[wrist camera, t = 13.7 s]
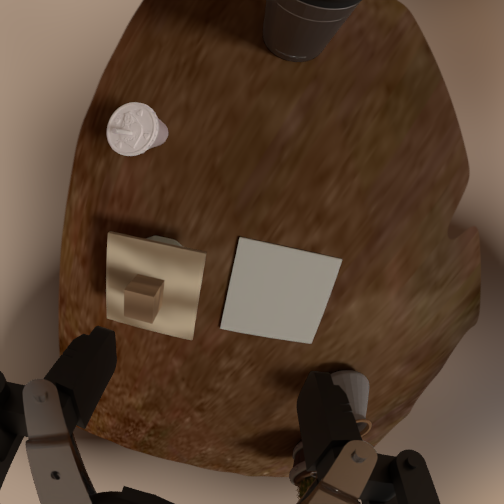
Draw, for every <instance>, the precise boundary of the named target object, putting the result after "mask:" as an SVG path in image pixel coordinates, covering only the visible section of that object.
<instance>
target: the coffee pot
mask: <svg viewBox="0 0 504 504" xmlns="http://www.w3.org/2000/svg"><path fill="white" fill-rule="evenodd" d="M330 375H331V378H332V381H333V384H334V385H339V386H340V387H341V388H342V389H343V391H344V392H345V393H346V394H347V397H348V400H349V403H350V404H349V405H350V406H351V409H352V413H353V414H354V417H355V420H356V423H357V426H358V429H359V432H360V435H361V437H362V436H363V435H365V434H366V433H367V432H368V431H369V430H370V429H371V426H372V424H371V422H370V421H369V420H367V419H366V418H365V416H366V409H367V402H368V394H369V381H368V379H367V378H366V377H365V376H364V375H363V374H361V373H360V372H357V371H352V370H342V371H337V372H334V373H332V374H330ZM311 473H317V472H311ZM311 473H310V475H311ZM311 476H313V475H311ZM313 477H316V478H317V474H316V476H313Z"/></svg>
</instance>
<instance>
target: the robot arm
mask: <svg viewBox="0 0 504 504" xmlns="http://www.w3.org/2000/svg"><path fill="white" fill-rule="evenodd" d="M360 1H361V0H267V1H266V9H265V18H264V25H263V39H264V42H265V44H266V46H267V47H268V48H269V50H270V51H271V52H272V53H274V54H275V55H276V56H278V57H280V58H282V59H285V60H288V61H293V62H303V61H308V60H311V59H313V58H315V57H317V56H318V55H319V54H320V53H321V52H322V51H323V49H324V48H325V47H326V45H327V44H328V43H329V42H330V40H331V39H332V38H333V36H334V35H335V34H336V32H337V31H338V30H339V28H340V27H341V26H342V24H343V23H344V22H345V21H346V19H347V18H348V17H349V15H350V14H351V13H352V11H353V10H354V9H355V8H356V6H357V5H358V4H359V3H360ZM116 362H117V356H116V340H115V332H114V331H113V330H109V329H106V328H103V327H100V326H96V327H95V328H94V329H93V331H92V332H91V333H90V335H89V336H88V335H86V334H82V335H81V336H79V337H77V338H75V339H74V340H73V341H72V342H71V344H70V345H69V346H68V348H67V349H66V350H65V351H64V352H63V355H61V356H60V358H59V359H58V360H57V361H56V363H55V364H54V365H53V367H52V368H51V369H50V371H49V372H48V373H47V375H46V376H45V377H44V379H35V380H32V381H30V382H28V383H27V384H26V385H20V384H15V383H11V382H7V381H6V379H5V377H4V375H3V373H1V371H0V489H1V487H2V484H3V481H4V479H5V477H6V474H7V472H8V470H9V468H10V465H11V463H12V461H13V459H14V456H15V454H16V452H17V450H18V448H19V446H20V444H21V442H22V440H23V438H24V436H26V437H28V438H29V440H27V441H26V451H27V455H28V460H29V464H30V469H31V473H32V476H33V480H34V484H35V486H36V490H37V494H38V497H39V500H40V503H41V504H174V503H172V502H169V501H167V500H165V499H163V498H161V497H158V496H156V495H154V494H150V493H146V492H142V491H139V490H135V489H132V488H129V487H125V486H124V487H123V490H122V492H112V491H110V492H101V493H96V491H95V489H94V487H93V484H92V482H91V480H90V478H89V476H88V474H87V471H86V469H85V466H84V464H83V461H82V458H81V455H80V453H79V450H78V447H77V444H76V441H75V437H74V434H73V431H74V429H75V427H76V425H77V426H79V427H82V428H84V429H85V428H86V426H87V424H88V422H89V420H90V418H91V416H92V414H93V412H94V410H95V408H96V406H97V404H98V402H99V400H100V398H101V396H102V394H103V392H104V390H105V388H106V386H107V384H108V382H109V380H110V379H111V377H112V375H113V373H114V371H115V367H116ZM349 404H350V403H349V400H348V397H347V394H346V393H345V392H344V391H343V389H342V388H341V387H340V386H339V385H334V384H333V381H332V378H331V375H330V373H328V372H317V371H311V372H310V373H309V375H308V377H307V379H306V381H305V383H304V386H303V388H302V390H301V392H300V394H299V396H298V399H297V413H298V419H299V425H300V432H301V438H302V444H303V450H304V457H305V463H306V470H307V471H317V478H316V479H315V480H314V481H313V483H312V484H311V485H310V487H309V488H308V489H307V491H306V492H305V493H304V495H303V496H302V497H301V499H300V500H299V501H298V503H297V504H360V502H359V501H358V499H361V501H362V504H440V502H439V499H438V496H437V493H436V490H435V487H434V484H433V481H432V478H431V476H430V473H429V470H428V468H427V465H426V462H425V460H424V458H423V457H422V455H420V454H419V453H418V452H416V451H414V450H404V451H402V452H400V453H399V454H398V455H397V456H396V457H394V456H388V455H382V454H378V453H377V452H376V450H375V449H374V447H373V446H372V445H370V444H369V443H367V442H365V441H363V440H362V438H361V435H360V432H359V429H358V426H357V423H356V420H355V417H354V414H353V413H352V409H351V406H350V405H349Z"/></svg>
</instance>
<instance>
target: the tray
mask: <svg viewBox="0 0 504 504" xmlns="http://www.w3.org/2000/svg"><path fill="white" fill-rule="evenodd" d="M341 262H342V259H340V258H336V257H331V256H327V255H322V254H318V253H313V252H309V251H304V250H299V249H295V248H290V247H286V246H281V245H276V244H272V243H267V242H263V241H258V240H253V239H249V238H244V237H240V238H239V242H238V247H237V252H236V256H235V261H234V265H233V270H232V275H231V279H230V284H229V289H228V293H227V298H226V303H225V307H224V312H223V317H222V322H221V327H220V329H225V330H230V331H235V332H241V333H246V334H252V335H258V336H263V337H270V338H276V339H282V340H289V341H296V342H303V343H310V344H311V343H312V341H313V338H314V336H315V333H316V331H317V328H318V326H319V323H320V320H321V318H322V315H323V313H324V310H325V307H326V305H327V302H328V299H329V296H330V294H331V291H332V288H333V285H334V282H335V280H336V277H337V274H338V271H339V268H340V265H341Z"/></svg>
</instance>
